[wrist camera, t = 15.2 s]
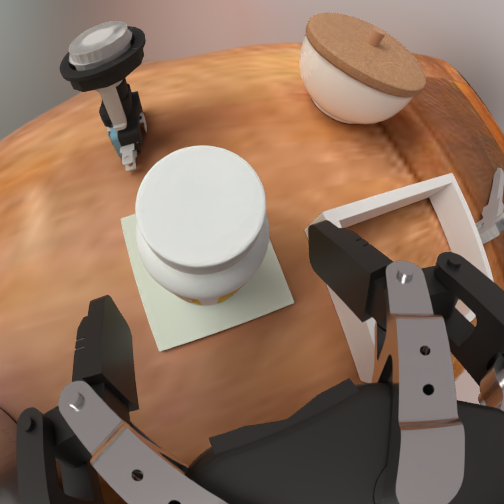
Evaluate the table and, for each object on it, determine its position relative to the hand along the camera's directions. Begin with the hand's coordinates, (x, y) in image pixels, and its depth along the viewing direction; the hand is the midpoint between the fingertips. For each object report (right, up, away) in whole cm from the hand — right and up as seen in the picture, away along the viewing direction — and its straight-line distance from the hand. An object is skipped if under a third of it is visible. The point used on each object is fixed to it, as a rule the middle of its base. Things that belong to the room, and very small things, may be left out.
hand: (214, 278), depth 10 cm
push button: (-8, +10, +9) cm, 16 cm away
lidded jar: (+10, +16, +13) cm, 23 cm away
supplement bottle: (-2, 0, +7) cm, 7 cm away
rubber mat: (-2, 0, +7) cm, 8 cm away
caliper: (+29, +7, +14) cm, 33 cm away
